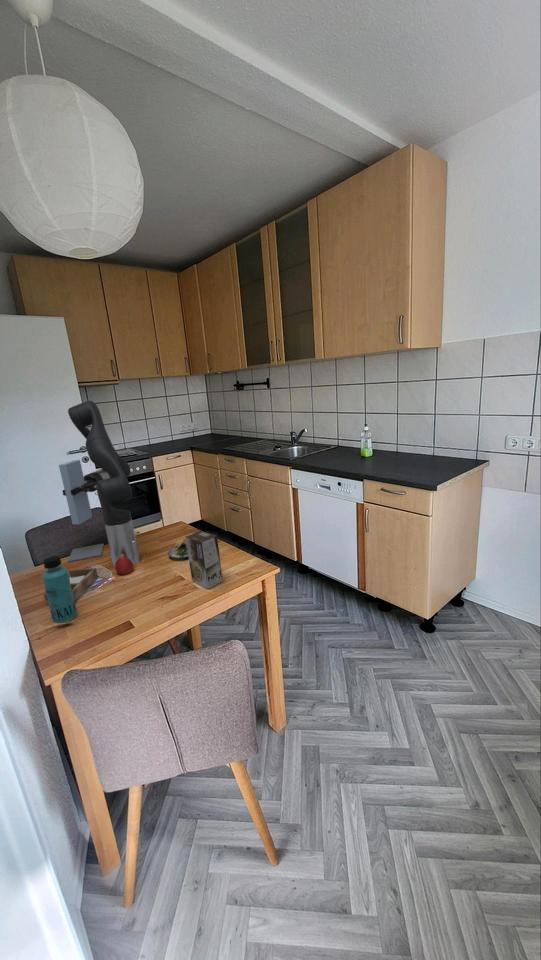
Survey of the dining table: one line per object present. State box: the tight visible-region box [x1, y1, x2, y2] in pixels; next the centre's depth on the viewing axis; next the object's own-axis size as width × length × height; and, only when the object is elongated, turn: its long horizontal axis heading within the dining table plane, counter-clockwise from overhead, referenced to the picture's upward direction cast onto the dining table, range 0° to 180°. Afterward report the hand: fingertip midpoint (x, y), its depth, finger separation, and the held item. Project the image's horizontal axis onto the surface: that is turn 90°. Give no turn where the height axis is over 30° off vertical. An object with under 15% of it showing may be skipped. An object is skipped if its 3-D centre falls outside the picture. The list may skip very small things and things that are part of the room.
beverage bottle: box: [41, 555, 78, 624], centre depth 107 cm, size 6×7×20 cm
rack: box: [43, 567, 99, 606], centre depth 123 cm, size 16×9×5 cm, turn 178°
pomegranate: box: [114, 554, 134, 576], centre depth 133 cm, size 6×6×8 cm
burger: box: [167, 538, 188, 562], centre depth 146 cm, size 12×12×8 cm
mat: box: [67, 543, 105, 563], centre depth 155 cm, size 12×12×1 cm
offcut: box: [69, 575, 85, 584], centre depth 126 cm, size 5×6×2 cm
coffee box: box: [184, 530, 224, 590], centre depth 123 cm, size 9×6×16 cm
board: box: [58, 459, 93, 525], centre depth 150 cm, size 8×3×24 cm, turn 168°
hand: (67, 493), depth 145 cm, fingers closed on board, 3 cm apart
